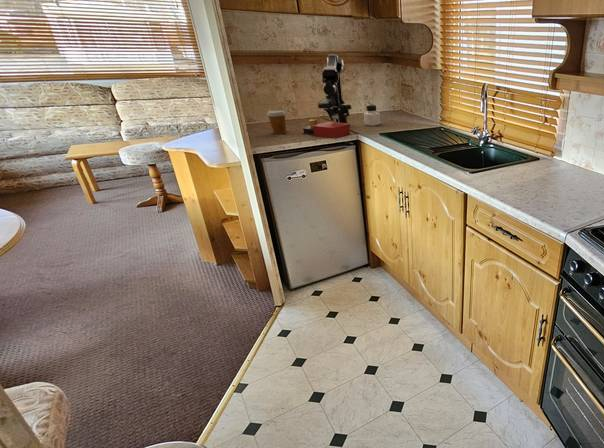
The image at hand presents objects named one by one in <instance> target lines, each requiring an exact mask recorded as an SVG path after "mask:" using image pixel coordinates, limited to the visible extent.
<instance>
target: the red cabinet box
mask: <svg viewBox="0 0 604 448" xmlns="http://www.w3.org/2000/svg"><path fill="white" fill-rule="evenodd" d="M313 132H314V135H313V136H314V137H320V138H330V139H338V138H342V137H344V136H347V135H350V134H351V129H350V125H348V126H344V127H341V128H337V129H326V128H317V127H313Z"/></svg>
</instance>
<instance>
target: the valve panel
mask: <svg viewBox="0 0 604 448" xmlns="http://www.w3.org/2000/svg"><path fill="white" fill-rule="evenodd" d="M302 130H303V134H304V135H313V136H314V132H313V128H310V125H308V126H307V127H303V128H302Z"/></svg>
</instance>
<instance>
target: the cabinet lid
mask: <svg viewBox="0 0 604 448" xmlns="http://www.w3.org/2000/svg"><path fill="white" fill-rule="evenodd" d="M332 119H333V121H325V122H322V123H318V124H317V125H313V127H317V128H326V129H337V128H341V127H344V126H348V125H349V126H351V124H350V123H348V122H347V123H340V122H336V119H338V121H339V116H332Z"/></svg>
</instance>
